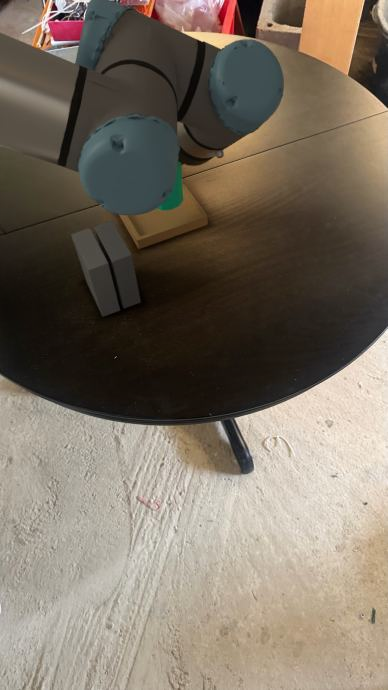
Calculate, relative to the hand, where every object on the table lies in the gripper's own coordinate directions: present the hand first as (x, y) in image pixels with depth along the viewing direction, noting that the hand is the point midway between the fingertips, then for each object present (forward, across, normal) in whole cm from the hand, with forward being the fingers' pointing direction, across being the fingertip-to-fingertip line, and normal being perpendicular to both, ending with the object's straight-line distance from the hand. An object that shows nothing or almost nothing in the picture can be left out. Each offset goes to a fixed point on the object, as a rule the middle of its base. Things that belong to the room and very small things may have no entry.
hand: (154, 169), depth 80 cm
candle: (0, 0, -5) cm, 5 cm away
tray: (+12, 0, -2) cm, 12 cm away
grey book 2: (-2, -13, -16) cm, 21 cm away
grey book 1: (-2, -17, -16) cm, 23 cm away
